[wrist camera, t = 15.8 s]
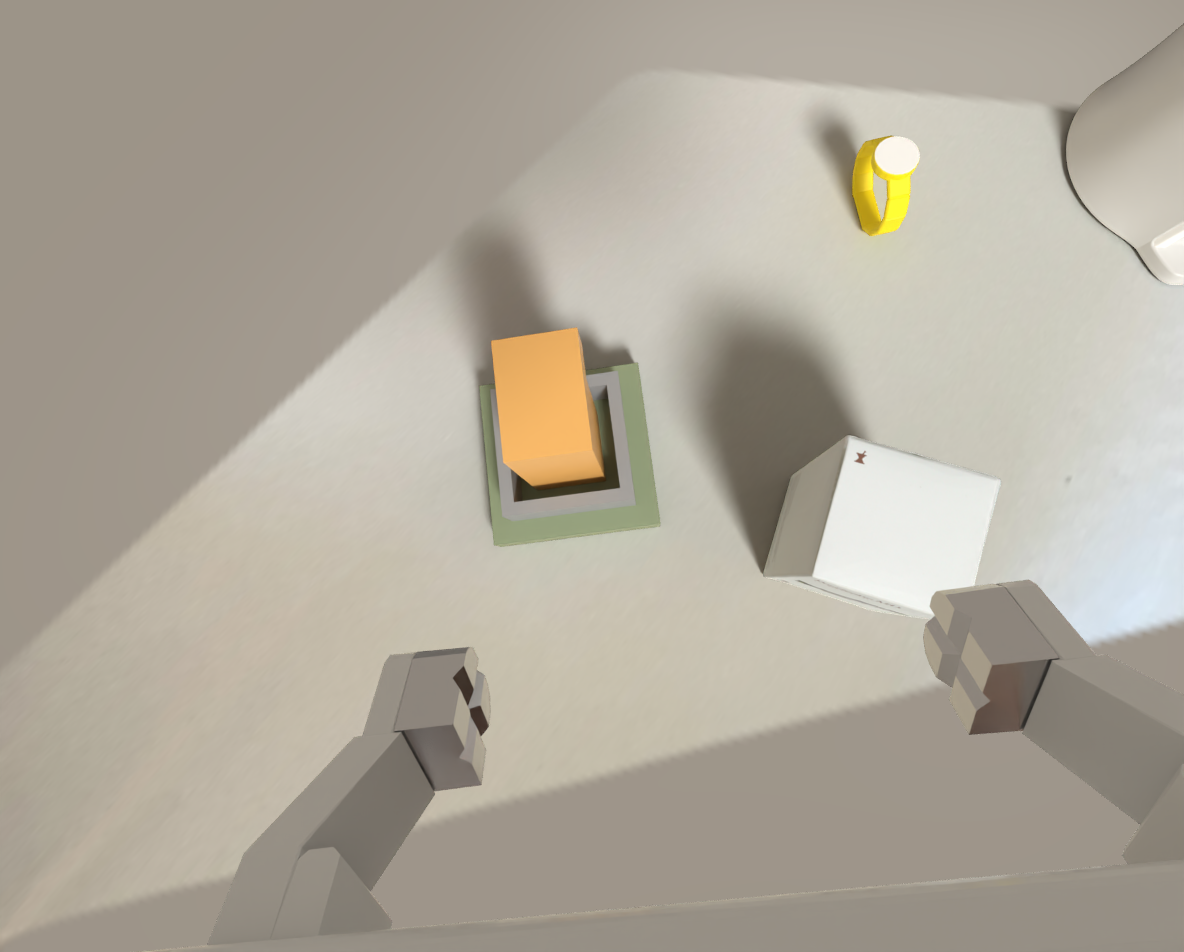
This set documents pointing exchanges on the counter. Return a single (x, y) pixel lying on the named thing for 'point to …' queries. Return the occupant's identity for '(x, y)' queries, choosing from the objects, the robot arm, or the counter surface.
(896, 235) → the counter surface
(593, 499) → the grey-rimmed base plate
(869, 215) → the watch
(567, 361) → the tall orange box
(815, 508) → the supplement box
